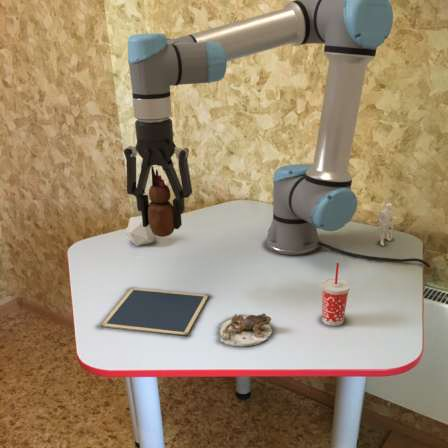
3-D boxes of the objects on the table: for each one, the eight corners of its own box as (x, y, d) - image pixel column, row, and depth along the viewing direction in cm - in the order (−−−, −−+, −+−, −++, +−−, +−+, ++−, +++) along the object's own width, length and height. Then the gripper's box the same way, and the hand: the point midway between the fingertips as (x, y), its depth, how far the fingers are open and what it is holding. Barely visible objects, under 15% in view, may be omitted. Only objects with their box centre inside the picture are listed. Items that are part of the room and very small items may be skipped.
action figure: (381, 246, 153) (386, 206, 147) (372, 242, 155) (376, 202, 149) (397, 241, 156) (402, 201, 150) (387, 237, 158) (392, 198, 152)
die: (153, 236, 165) (131, 212, 162) (168, 230, 158) (145, 204, 155) (137, 255, 161) (114, 230, 157) (152, 248, 154) (128, 222, 150)
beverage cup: (313, 316, 120) (317, 260, 113) (337, 311, 122) (342, 255, 115) (327, 330, 115) (332, 271, 108) (352, 324, 117) (358, 266, 110)
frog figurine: (269, 315, 121) (270, 301, 119) (275, 345, 110) (275, 330, 108) (219, 317, 121) (218, 302, 119) (219, 347, 110) (219, 332, 108)
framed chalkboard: (208, 296, 130) (208, 294, 129) (186, 336, 114) (186, 334, 114) (131, 289, 134) (131, 287, 134) (101, 326, 119) (100, 325, 118)
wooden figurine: (146, 230, 122) (139, 165, 114) (170, 226, 124) (165, 162, 116) (154, 241, 116) (148, 173, 109) (179, 236, 118) (175, 169, 111)
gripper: (205, 116, 109) (209, 222, 120) (115, 114, 113) (128, 217, 124) (194, 123, 102) (200, 235, 114) (100, 121, 107) (114, 229, 118)
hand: (162, 225), depth 119 cm, fingers closed on wooden figurine, 7 cm apart
